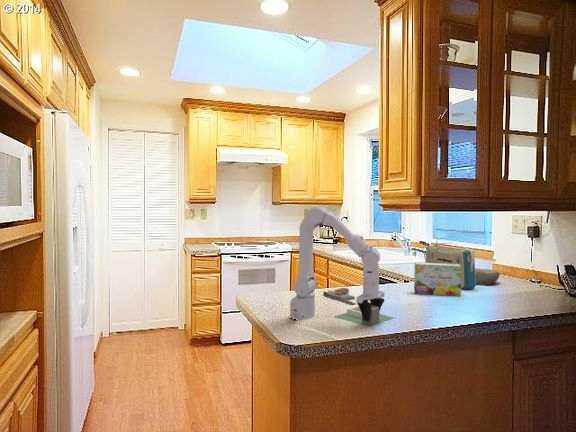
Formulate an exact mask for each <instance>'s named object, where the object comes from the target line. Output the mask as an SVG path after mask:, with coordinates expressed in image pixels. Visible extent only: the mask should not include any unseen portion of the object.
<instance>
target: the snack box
mask: <svg viewBox="0 0 576 432" xmlns="http://www.w3.org/2000/svg"><path fill="white" fill-rule="evenodd" d="M461 272H462V266H461V265H460V264H443V263H425V262H419V261H418V262H417V261H416V262H414V276H413V277H414V281H413V282H414V283H413V286H414V287H413V288H414V289H413V290H414V291H413V292H414V294H415V295H417V294H418V295H433V296H434V295H435V296H447V297H449V296H451V297H461V295H462V289H461Z"/></svg>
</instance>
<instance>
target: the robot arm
mask: <svg viewBox="0 0 576 432" xmlns="http://www.w3.org/2000/svg"><path fill="white" fill-rule="evenodd" d="M320 225H324V226H329V227H331V228H333V229H334V230H335V232H337V233H338V234H339V235H341V237H343V238H344V239H345V240H346V245H347V247H349V249H350V250H352V251H353V252H354V254H355V255H357V256H358V258H360V259H361V260H360V261H361V263H362V265H363V270H362V275H363V276H362V293H361V294H360V295H359V296H356V298H355V299H356V300H355V301H356V302H355V303H356V305H357V304H358V305H357V306H359V308H360V310H361V313H362V317H363V320H364V321H369V317H370V309H371V306H372V305H373V306H377V307H379V313H380V312H381V308H382V306H383V304H384V303H385V298H384V297H385V294H386V292H385V291H383V290H382V291H381V290H380V270H379V267H380V264H379V262H380V261H381V254H380V253H379V250H378V249H376V248H374V246H373V245H369V243H368V242H367V241H365V240H364V237H365V236H363V235H360V234H354V233H352V231H351V230H350V229H349V228H348V227H347V226H346V225H345V224H344V223H343V222H342V221H341V220H340V219H339V217H337V215H336V214H335V213H334V212H333V211H330V209H328V207H326V206H316V207H314V206H313V207H311V208H310V209H309V210H308V211H306V212H305V216H304V217H303V219H302V221H301V223H300V224H299V238H298V239H299V244H298V246H299V249H298V250H299V252H298V253H299V255H298V257H299V263H298V264H299V265H298V273H297V275H296V281H295V283H294V285H293V287H294V288H293V290H294V293H295V294H296V296H295V297H293V298H291V300H290V301H289V302H290V303H289V304H290V305H289V311H290V312H289V317H291V318H294V319H297V320H299V321H302V320H305V319H310V318H311V319H312V318H314V317H316V316H317V315H316V313H315V311H316V310H315V309H316V306H315V301H316V298H315V290H316V288H317V286H318V284H317V281H316V278H315V272H314V271H313V269H314V267H313V265H314V264H313V262H314V259H313V257H314V255H313V251H314V250H313V249H314V230H315V229H317V228H318V227H319V226H320ZM294 319H293V320H294ZM297 320H296V321H297Z"/></svg>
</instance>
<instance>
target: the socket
mask: <svg viewBox="0 0 576 432" xmlns="http://www.w3.org/2000/svg"><path fill="white" fill-rule="evenodd" d="M346 313H347V315H350V316H354V317H358V318H361V319H362V313H361V310H360V308H359V306H358V305H356V306H353V307H349V308H346Z"/></svg>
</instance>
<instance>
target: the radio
mask: <svg viewBox="0 0 576 432" xmlns="http://www.w3.org/2000/svg"><path fill="white" fill-rule="evenodd" d="M435 239H436V240H438V239H439V238H438V237H436V238H435ZM445 244H451V245H453V243H452V242H441V243H438V242H436V243H435V244H433V245H427V246H426V248H425V259H424V261H425V262H424V263H443V264H460V265H461V266H462V272H461V291H464V290H471V289H472V290H473V289H475V288H476V286H477V285H476V279H475V269H476V263H475V262H476V261H475V251H474V250H472V249H470V248H468V247H465V246H463V245H459V244H458V247H459V246H460V247H462V248H464V249H462V248H454V247H446V246H441V245H445ZM454 245H456V246H457V244H456V243H454Z"/></svg>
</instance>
